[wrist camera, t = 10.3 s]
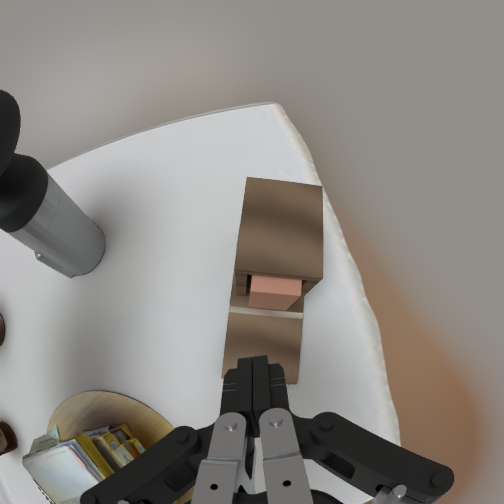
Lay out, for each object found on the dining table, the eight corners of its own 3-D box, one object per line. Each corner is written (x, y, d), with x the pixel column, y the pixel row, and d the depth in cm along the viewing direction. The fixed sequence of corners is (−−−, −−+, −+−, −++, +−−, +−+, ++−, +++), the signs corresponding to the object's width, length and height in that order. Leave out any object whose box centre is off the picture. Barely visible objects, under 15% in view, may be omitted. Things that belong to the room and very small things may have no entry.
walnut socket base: (295, 383, 34) (322, 399, 21) (222, 377, 34) (211, 392, 21) (304, 235, 42) (329, 187, 29) (239, 228, 42) (239, 176, 29)
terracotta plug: (285, 310, 36) (300, 295, 27) (248, 306, 36) (250, 291, 27) (288, 274, 38) (303, 248, 28) (252, 271, 38) (255, 243, 28)
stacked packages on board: (162, 378, 34) (108, 392, 18) (223, 514, 26) (215, 579, 10) (41, 398, 30) (-27, 402, 14) (95, 517, 22) (51, 555, 6)
